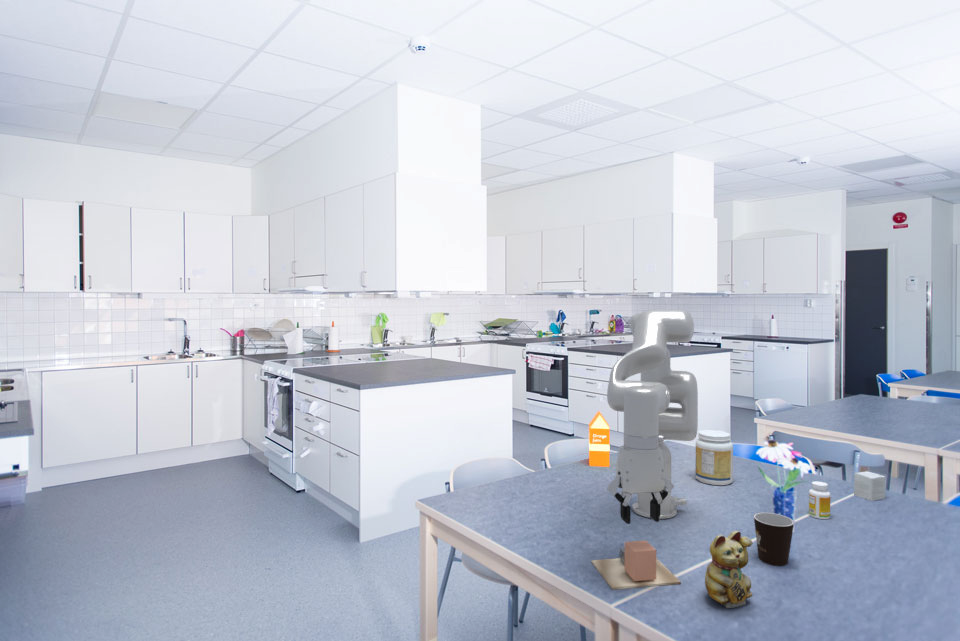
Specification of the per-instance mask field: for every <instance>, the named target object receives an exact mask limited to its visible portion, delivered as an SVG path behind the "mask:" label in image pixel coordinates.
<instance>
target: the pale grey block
mask: <svg viewBox="0 0 960 641" xmlns="http://www.w3.org/2000/svg"><path fill="white" fill-rule="evenodd" d="M853 475H854V478H853V480H854V481H853V496H856V497H859V498H863V499H864V500H868V501H871V502H873V501H877V500H883V499H886V476H885V475H881V474H879V473H874V472H871V471H868V470H866V471H861V472H860V471H858V472H854V474H853Z"/></svg>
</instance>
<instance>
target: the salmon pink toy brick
mask: <svg viewBox="0 0 960 641" xmlns="http://www.w3.org/2000/svg"><path fill="white" fill-rule="evenodd" d="M624 548H625V571H626V572H627V574H628V575H629V576H630V577H631V578H632V579H633V581H643V580H655V579H656V558H657V549H656V548H655V547H654V546H652V544H650V542H649V541H648V540H634V541H633V540H632V541H624Z"/></svg>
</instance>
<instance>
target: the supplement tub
mask: <svg viewBox="0 0 960 641" xmlns="http://www.w3.org/2000/svg"><path fill="white" fill-rule="evenodd" d="M695 478H696V479H697V481H699V482H701V483H703V484H707V485H713V486H727V485H730V484H732V482H733V481H734V444H733V442H732V441H731V433H729V432H727V431H724V430H718V429H702V430H699V431H698V434H697V439H696V441H695Z"/></svg>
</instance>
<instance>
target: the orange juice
mask: <svg viewBox="0 0 960 641" xmlns="http://www.w3.org/2000/svg"><path fill="white" fill-rule="evenodd" d="M610 430H611V428H610V425H609V423H608V422H607V420H606V419H605V417H604V416H603V415H602V413H601V411H600V410H598V411H597V412H596V413H595V415H594V417H592V419H591V421H590V422H589V423H588V462H589V467H604V468H609V467H610V457H611V456H610V444H611V443H610V441H611V438H610V436H611V432H610Z"/></svg>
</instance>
